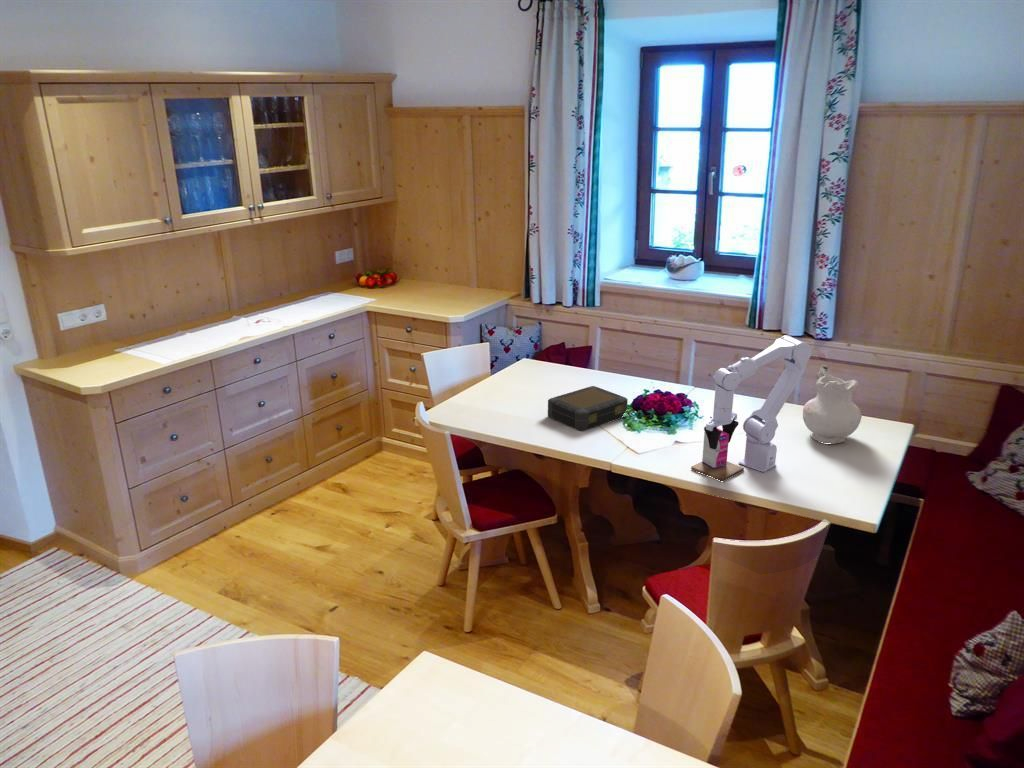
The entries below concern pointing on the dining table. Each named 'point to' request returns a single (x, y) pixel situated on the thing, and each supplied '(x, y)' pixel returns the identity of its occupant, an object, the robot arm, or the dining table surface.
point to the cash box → (587, 408)
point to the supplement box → (716, 451)
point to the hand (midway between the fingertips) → (719, 445)
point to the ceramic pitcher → (832, 409)
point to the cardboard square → (718, 470)
